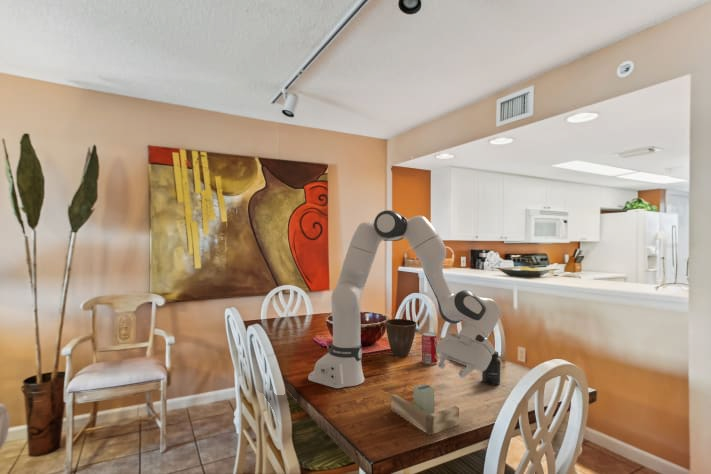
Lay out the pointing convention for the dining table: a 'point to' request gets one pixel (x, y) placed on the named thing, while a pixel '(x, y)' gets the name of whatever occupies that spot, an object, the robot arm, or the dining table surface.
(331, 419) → the dining table surface
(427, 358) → the soda can
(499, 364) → the supplement bottle
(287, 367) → the dining table surface
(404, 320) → the plant pot
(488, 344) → the robot arm
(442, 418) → the corner bracket
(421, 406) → the sage block
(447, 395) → the dining table surface
